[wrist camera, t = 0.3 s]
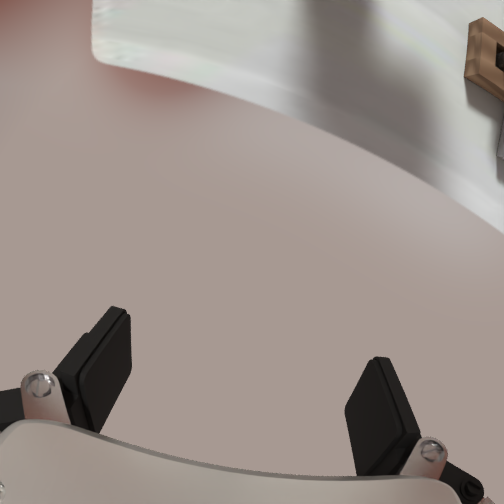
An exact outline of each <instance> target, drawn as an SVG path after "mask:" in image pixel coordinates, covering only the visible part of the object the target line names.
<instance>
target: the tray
mask: <svg viewBox="0 0 504 504" xmlns="http://www.w3.org/2000/svg"><path fill="white" fill-rule="evenodd" d="M496 156H497V157H499V158H501V159H502V160H504V118H503V124H502V130H501V136H500V141H499V146H498V150H497V155H496Z"/></svg>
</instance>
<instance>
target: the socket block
mask: <svg viewBox="0 0 504 504" xmlns="http://www.w3.org/2000/svg"><path fill="white" fill-rule="evenodd" d="M501 52H504V32H503V31H502V30H501V29H499V28H498V27H496V26H495V25H494V24H492V23H491V22H489V21H488V20H486V19H485V18H483V17H482V18H480V19H478V20H476V21H473V22H471V23H469V33H468V45H467V55H466V64H465V72H464V77H465V78H467V79H468V80H470V81H472V82H473V83H475V84H477V85H478V86H480V87H481V88H483V89H485V90H486V91H488V92H489V93H491V94H492V95H494V96H495V97H497V98H498V99H500V100H501V101H503V102H504V71H501V70H500V69H498V68H497V67H495V61H496V54H497V53H501Z"/></svg>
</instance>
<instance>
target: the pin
mask: <svg viewBox="0 0 504 504" xmlns="http://www.w3.org/2000/svg"><path fill="white" fill-rule="evenodd" d="M495 67H497V68H498V69H500V70H501V71H504V52H501V53H497V54H496V61H495Z"/></svg>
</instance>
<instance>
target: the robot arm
mask: <svg viewBox="0 0 504 504" xmlns="http://www.w3.org/2000/svg"><path fill="white" fill-rule="evenodd" d="M130 319H131V318H130V315H129V314H127V312H126V310H125V309H122V308H118V307H114V306H111V307H110V308H109V309H108V311H107V312H106V313H105V314H104V316H103V317H102V318H101V319H100V320H99V321H98V323H97V324H96V325H95V326H94V327H93V329H92V330H91V331H90V332H89V333H85V334H83V335H82V337H81V338H80V339H79V340H78V342H77V343H76V344H75V345H74V347H73V348H72V349H71V350H70V351H69V353H68V354H67V355H66V356H65V358H64V359H63V360H62V361H61V363H60V364H59V365H58V367H57V368H56V369H55V370H54V371H53V373H50V372H48V371H44V370H37V371H33V372H30V373H29V374H27V375H26V376H25V377H24V378H23V379H22V382H21V388H16V389H10V390H5V391H0V504H495V503H494V502H492V500H491V499H490V498H488V497H487V498H484V497H483V496H484V488H483V486H482V484H481V482H480V481H479V480H478V479H476V478H475V477H473V476H471V475H469V474H468V473H466V472H465V471H462V470H461V469H459V468H458V467H456V466H454V465H453V464H451V463H449V462H448V461H447V457H448V452H447V449H446V447H445V445H444V444H443V443H442V442H441V441H439V440H438V439H436V438H433V437H423V438H422V437H421V435H420V429H419V427H418V424H417V422H416V419H415V417H414V414H413V412H412V409H411V407H410V405H409V402H408V400H407V397H406V395H405V393H404V390H403V388H402V386H401V383H400V381H399V379H398V376H397V374H396V372H395V370H394V367H393V365H392V363H391V361H390V359H389V358H386V357H374V358H373V360H369V362H368V363H367V366H366V368H365V370H364V371H363V374H362V375H361V377H360V379H359V381H358V383H357V385H356V387H355V389H354V391H353V393H352V395H351V396H350V398H349V400H348V402H347V404H346V406H345V417H346V422H347V427H348V431H349V437H350V442H351V447H352V452H353V458H354V463H355V468H356V474H357V476H308V475H292V474H278V473H269V472H260V471H252V470H244V469H238V468H231V467H225V466H219V465H214V464H208V463H203V462H198V461H194V460H189V459H185V458H180V457H176V456H172V455H168V454H164V453H160V452H156V451H153V450H149V449H145V448H142V447H139V446H136V445H132V444H129V443H126V442H122V441H119V440H116V439H113V438H110V437H107V436H104V435H101V434H99V433H100V431H101V429H102V427H103V425H104V423H105V421H106V419H107V417H108V416H109V414H110V412H111V410H112V408H113V406H114V404H115V402H116V400H117V398H118V396H119V394H120V392H121V390H122V388H123V386H124V384H125V383H126V381H127V379H128V377H129V375H130V373H131V369H132V359H131V358H132V357H131V320H130Z"/></svg>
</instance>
